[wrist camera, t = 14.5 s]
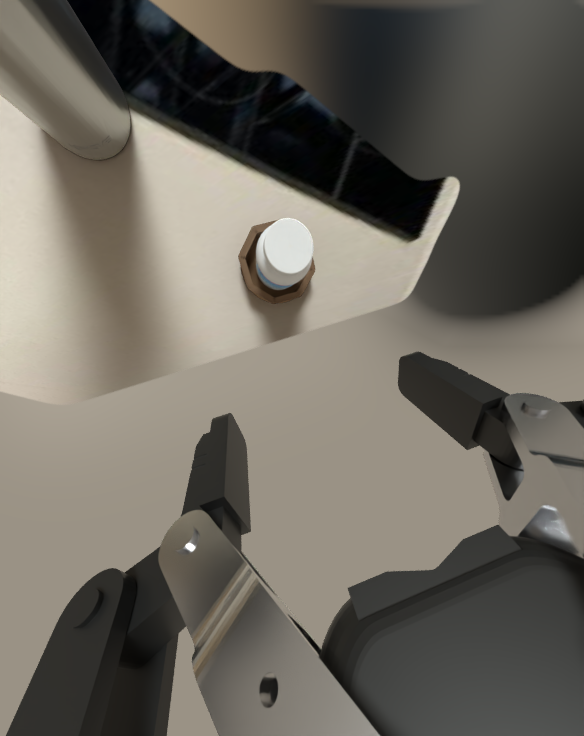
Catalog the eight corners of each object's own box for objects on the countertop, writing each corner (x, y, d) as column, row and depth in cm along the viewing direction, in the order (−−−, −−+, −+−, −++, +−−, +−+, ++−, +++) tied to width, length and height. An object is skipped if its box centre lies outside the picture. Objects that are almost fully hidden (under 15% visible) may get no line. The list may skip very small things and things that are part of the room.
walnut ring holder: (230, 237, 28) (228, 230, 26) (300, 219, 29) (305, 211, 26) (253, 310, 32) (253, 311, 29) (316, 293, 32) (321, 292, 30)
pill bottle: (304, 280, 31) (330, 267, 20) (267, 297, 31) (273, 293, 20) (288, 236, 29) (308, 196, 18) (248, 254, 29) (244, 224, 18)
